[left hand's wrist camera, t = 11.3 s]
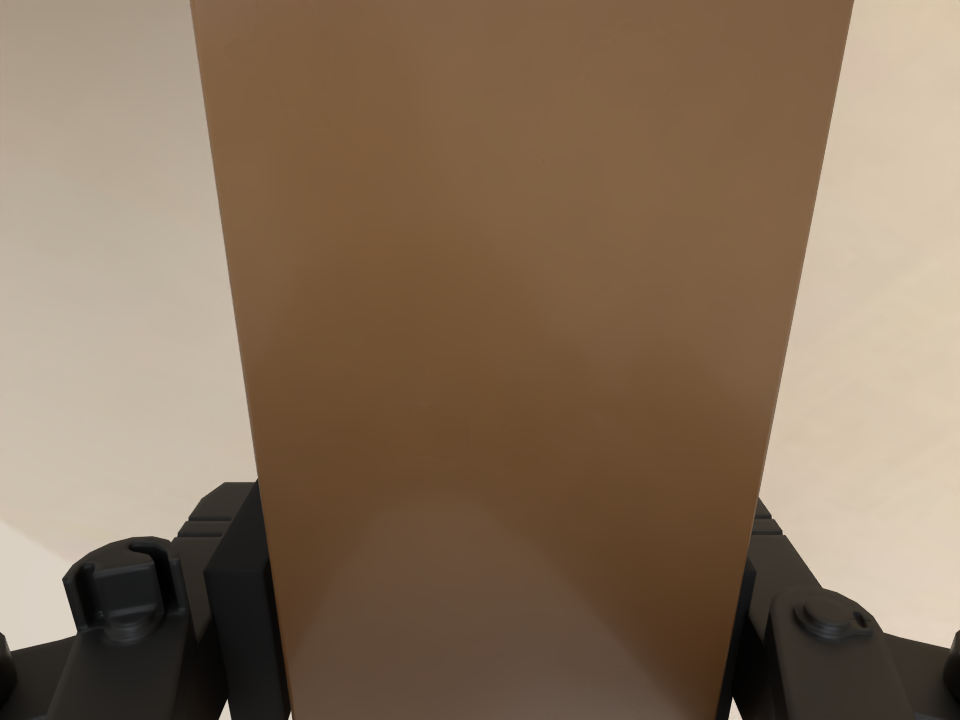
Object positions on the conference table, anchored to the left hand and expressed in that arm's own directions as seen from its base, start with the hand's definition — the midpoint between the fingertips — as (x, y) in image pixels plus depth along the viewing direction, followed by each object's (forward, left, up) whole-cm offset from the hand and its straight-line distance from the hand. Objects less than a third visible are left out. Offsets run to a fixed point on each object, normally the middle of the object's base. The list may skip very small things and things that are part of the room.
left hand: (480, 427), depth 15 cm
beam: (+3, +29, -1) cm, 29 cm away
